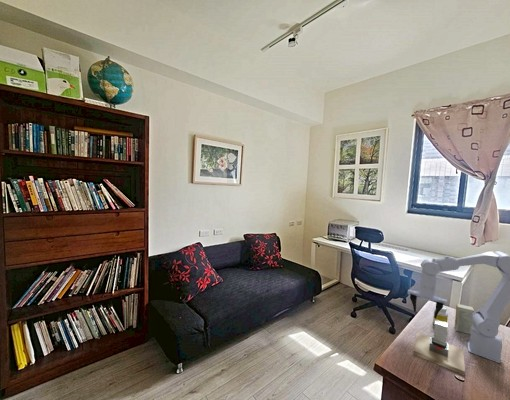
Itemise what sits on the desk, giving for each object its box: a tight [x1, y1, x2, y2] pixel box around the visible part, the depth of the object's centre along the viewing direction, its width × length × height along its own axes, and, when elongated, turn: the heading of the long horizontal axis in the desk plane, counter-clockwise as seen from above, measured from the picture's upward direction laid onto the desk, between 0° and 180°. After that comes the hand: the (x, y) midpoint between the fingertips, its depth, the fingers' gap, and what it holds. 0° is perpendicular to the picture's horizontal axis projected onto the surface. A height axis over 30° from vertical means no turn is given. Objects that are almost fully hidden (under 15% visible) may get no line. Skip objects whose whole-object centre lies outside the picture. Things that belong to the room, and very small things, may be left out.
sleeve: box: [429, 336, 449, 357], centre depth 97 cm, size 6×7×3 cm
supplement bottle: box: [432, 305, 449, 326], centre depth 117 cm, size 5×5×10 cm
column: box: [432, 319, 448, 346], centre depth 97 cm, size 4×4×8 cm
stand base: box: [412, 332, 466, 376], centre depth 97 cm, size 16×16×2 cm
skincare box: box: [454, 303, 475, 335], centre depth 114 cm, size 6×4×12 cm
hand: (424, 314), depth 108 cm, fingers open, 7 cm apart
